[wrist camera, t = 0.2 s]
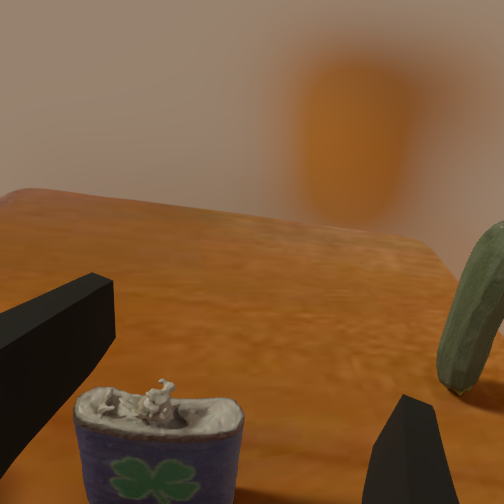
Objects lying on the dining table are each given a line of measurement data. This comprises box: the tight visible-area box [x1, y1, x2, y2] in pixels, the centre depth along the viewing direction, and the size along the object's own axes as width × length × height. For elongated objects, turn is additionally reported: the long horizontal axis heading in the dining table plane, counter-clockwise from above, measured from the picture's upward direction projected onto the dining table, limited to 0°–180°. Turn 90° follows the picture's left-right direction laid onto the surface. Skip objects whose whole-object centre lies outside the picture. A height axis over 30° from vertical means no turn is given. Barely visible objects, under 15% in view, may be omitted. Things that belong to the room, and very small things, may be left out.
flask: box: [73, 379, 245, 504], centre depth 25 cm, size 9×3×11 cm, turn 89°
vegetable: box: [436, 221, 504, 395], centre depth 33 cm, size 4×4×20 cm
